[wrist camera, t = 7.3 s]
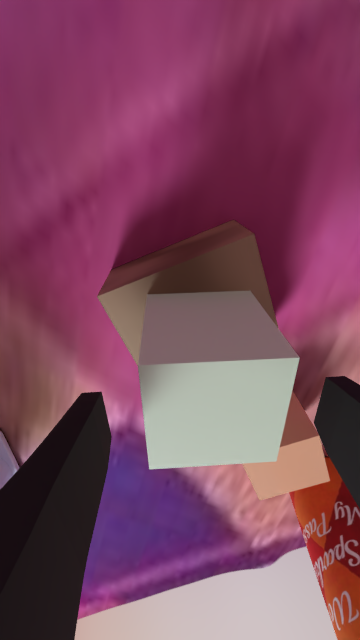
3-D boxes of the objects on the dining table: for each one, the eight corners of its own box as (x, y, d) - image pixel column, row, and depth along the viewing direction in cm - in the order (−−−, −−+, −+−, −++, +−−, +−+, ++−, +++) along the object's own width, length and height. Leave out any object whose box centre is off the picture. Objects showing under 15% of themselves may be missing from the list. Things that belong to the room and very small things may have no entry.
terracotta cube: (240, 435, 22) (259, 500, 18) (223, 396, 20) (240, 459, 16) (296, 417, 22) (330, 480, 17) (284, 376, 20) (319, 435, 15)
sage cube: (153, 376, 14) (149, 469, 10) (147, 294, 12) (137, 365, 8) (241, 372, 14) (276, 461, 10) (250, 290, 12) (299, 357, 8)
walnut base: (161, 361, 19) (161, 406, 15) (112, 268, 15) (96, 296, 12) (262, 326, 18) (287, 364, 14) (232, 218, 15) (254, 233, 11)
